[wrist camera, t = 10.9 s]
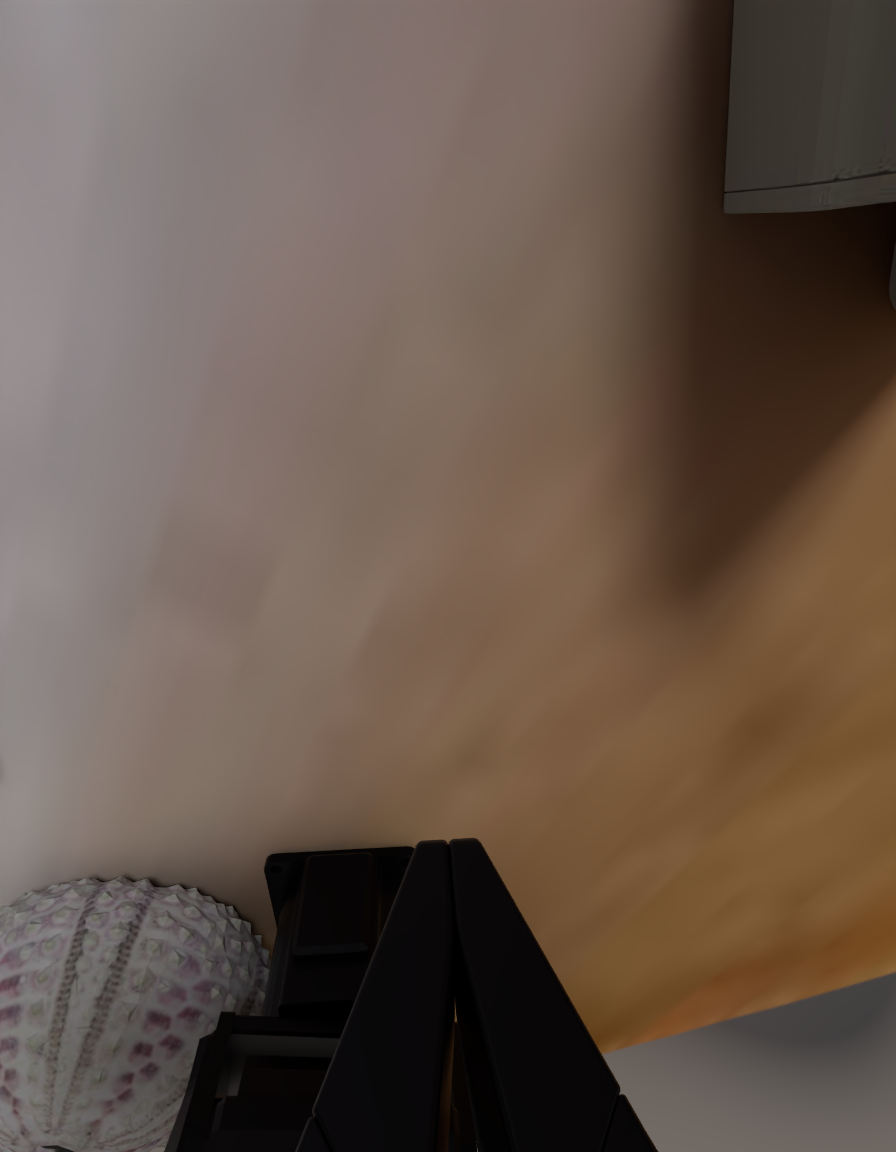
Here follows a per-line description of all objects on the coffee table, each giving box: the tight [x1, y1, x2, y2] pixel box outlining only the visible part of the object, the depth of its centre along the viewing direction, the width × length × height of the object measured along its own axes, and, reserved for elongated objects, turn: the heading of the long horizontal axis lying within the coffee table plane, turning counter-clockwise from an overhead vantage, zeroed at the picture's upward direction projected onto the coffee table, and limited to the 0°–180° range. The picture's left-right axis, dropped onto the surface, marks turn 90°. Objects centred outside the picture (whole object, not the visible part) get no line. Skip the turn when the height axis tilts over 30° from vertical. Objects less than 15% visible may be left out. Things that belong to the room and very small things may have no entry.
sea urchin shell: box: [0, 876, 271, 1152], centre depth 27 cm, size 13×14×8 cm
